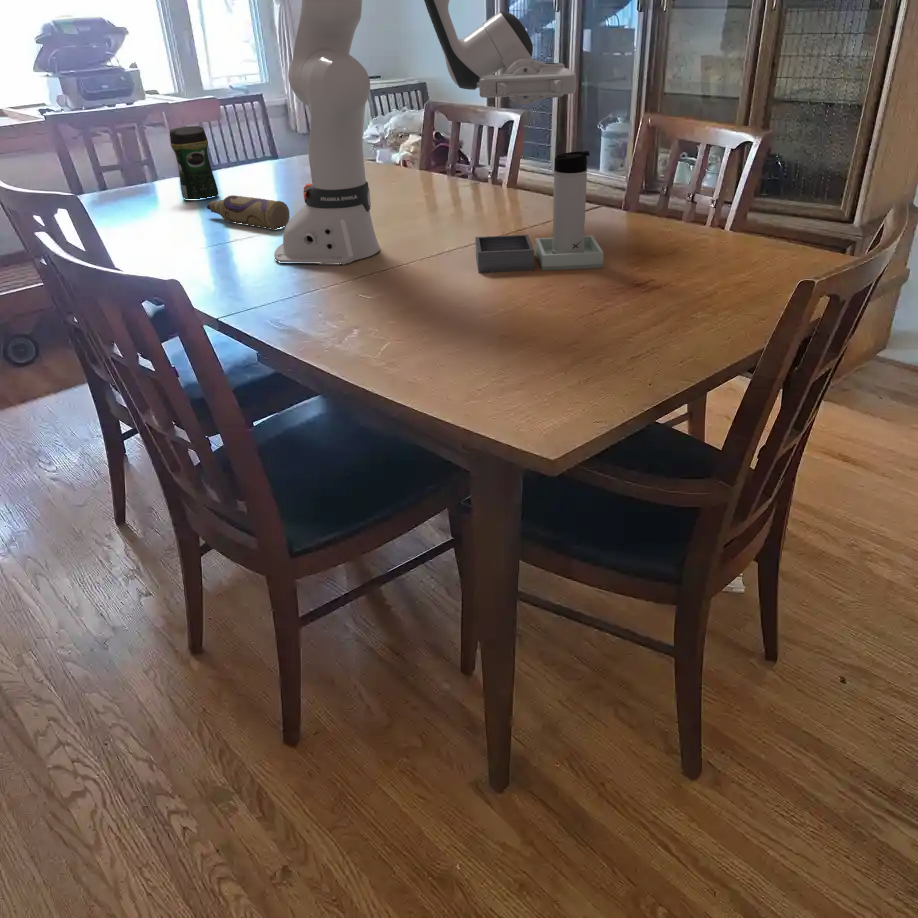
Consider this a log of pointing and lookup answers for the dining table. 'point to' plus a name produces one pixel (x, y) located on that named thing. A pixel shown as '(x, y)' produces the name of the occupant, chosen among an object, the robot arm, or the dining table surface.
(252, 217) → the decorative bottle
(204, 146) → the coffee jar
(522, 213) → the dining table surface
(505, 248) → the collar
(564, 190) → the travel mug
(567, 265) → the tray
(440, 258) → the dining table surface
